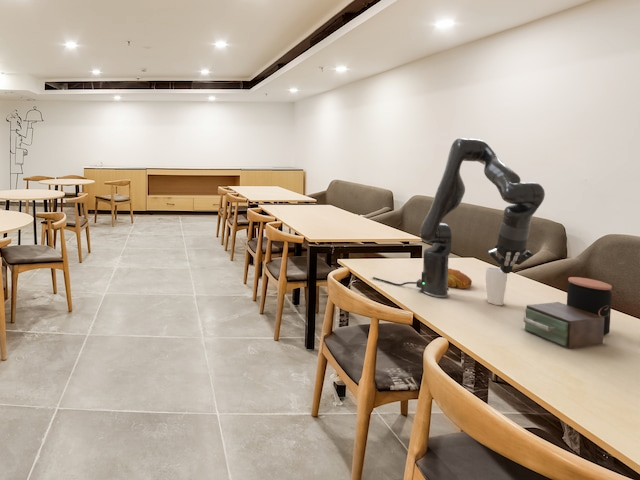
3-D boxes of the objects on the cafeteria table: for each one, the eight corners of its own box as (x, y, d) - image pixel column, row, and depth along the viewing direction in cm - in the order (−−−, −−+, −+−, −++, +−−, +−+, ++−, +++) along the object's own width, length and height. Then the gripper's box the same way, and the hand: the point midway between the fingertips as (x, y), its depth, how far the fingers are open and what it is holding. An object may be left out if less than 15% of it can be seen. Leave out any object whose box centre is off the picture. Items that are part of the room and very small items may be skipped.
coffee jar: (604, 339, 129) (607, 289, 128) (561, 325, 138) (563, 279, 138) (613, 332, 134) (616, 284, 133) (571, 319, 143) (573, 275, 142)
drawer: (554, 347, 122) (556, 324, 121) (515, 330, 133) (516, 309, 133) (596, 341, 125) (597, 319, 125) (554, 325, 137) (555, 305, 136)
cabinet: (569, 348, 122) (570, 321, 122) (525, 330, 135) (526, 305, 134) (603, 344, 125) (604, 317, 125) (556, 326, 138) (558, 301, 137)
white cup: (509, 307, 154) (511, 272, 154) (491, 305, 155) (492, 271, 155) (498, 300, 161) (499, 267, 160) (480, 299, 162) (482, 266, 162)
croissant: (428, 285, 184) (427, 270, 183) (445, 276, 190) (444, 262, 189) (461, 295, 170) (460, 279, 170) (479, 285, 177) (478, 269, 176)
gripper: (530, 227, 129) (521, 265, 136) (485, 227, 133) (478, 264, 140) (544, 239, 123) (534, 279, 129) (496, 239, 127) (488, 278, 133)
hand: (505, 271), depth 134 cm, fingers closed
